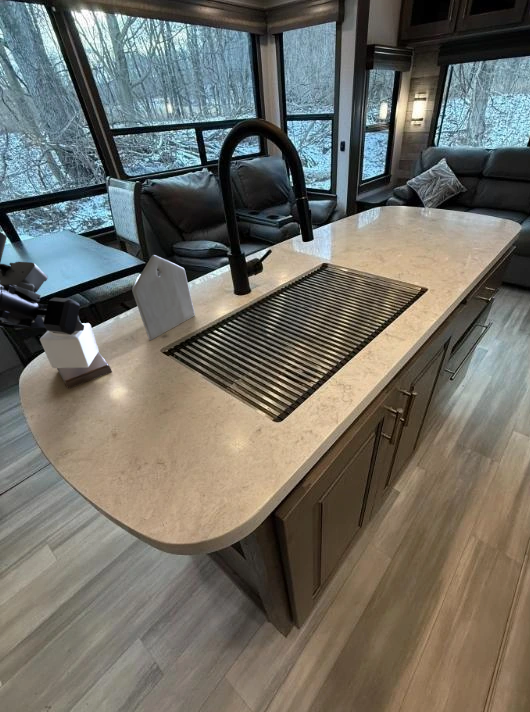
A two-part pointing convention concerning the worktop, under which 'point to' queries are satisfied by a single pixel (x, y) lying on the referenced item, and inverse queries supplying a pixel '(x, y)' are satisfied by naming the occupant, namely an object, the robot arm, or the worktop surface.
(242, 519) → the worktop surface
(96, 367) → the brown square tile
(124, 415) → the worktop surface
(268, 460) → the worktop surface
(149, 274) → the grey house-shaped board
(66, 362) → the medicine bottle
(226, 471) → the worktop surface
